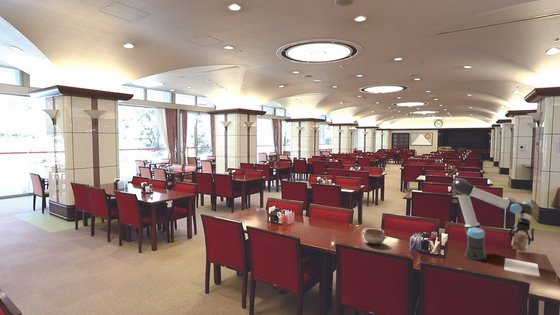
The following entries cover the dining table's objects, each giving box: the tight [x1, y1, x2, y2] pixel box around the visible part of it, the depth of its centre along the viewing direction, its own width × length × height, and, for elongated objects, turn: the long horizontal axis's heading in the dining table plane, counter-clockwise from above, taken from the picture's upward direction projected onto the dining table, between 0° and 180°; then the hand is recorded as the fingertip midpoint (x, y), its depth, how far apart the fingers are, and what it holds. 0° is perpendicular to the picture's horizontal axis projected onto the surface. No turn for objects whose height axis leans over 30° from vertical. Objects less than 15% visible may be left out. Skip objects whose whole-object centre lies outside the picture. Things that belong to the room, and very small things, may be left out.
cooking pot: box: [361, 228, 388, 246], centre depth 287 cm, size 25×19×12 cm
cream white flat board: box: [503, 258, 541, 278], centre depth 232 cm, size 28×20×1 cm
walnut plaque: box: [511, 232, 528, 253], centre depth 236 cm, size 8×4×12 cm, turn 47°
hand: (519, 246), depth 234 cm, fingers closed on walnut plaque, 8 cm apart
